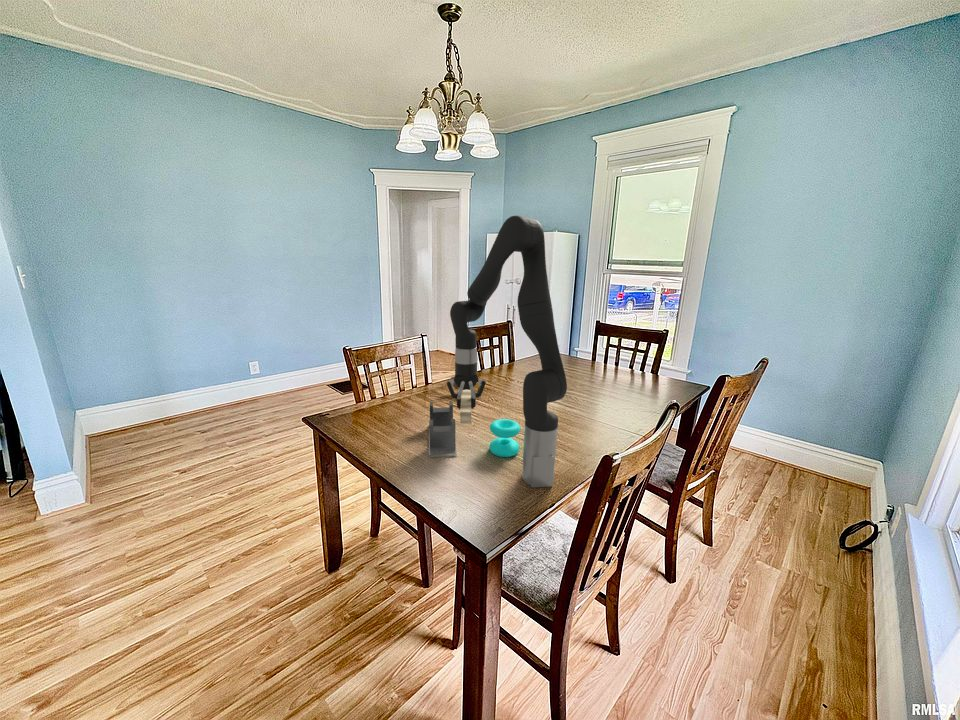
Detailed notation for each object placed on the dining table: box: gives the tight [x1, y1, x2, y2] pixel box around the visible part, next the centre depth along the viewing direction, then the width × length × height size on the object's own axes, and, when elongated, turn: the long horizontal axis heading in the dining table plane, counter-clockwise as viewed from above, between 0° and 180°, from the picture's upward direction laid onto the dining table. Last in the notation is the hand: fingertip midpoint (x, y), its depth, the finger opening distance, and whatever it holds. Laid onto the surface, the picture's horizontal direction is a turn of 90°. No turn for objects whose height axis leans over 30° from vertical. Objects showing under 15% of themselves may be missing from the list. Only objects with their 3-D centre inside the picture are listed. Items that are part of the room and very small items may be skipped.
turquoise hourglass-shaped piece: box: [488, 418, 521, 458], centre depth 127 cm, size 10×10×10 cm
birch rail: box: [459, 389, 472, 425], centre depth 132 cm, size 22×4×4 cm, turn 1°
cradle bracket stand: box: [428, 400, 458, 458], centre depth 134 cm, size 24×9×10 cm, turn 7°
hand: (466, 408), depth 133 cm, fingers closed on birch rail, 3 cm apart
